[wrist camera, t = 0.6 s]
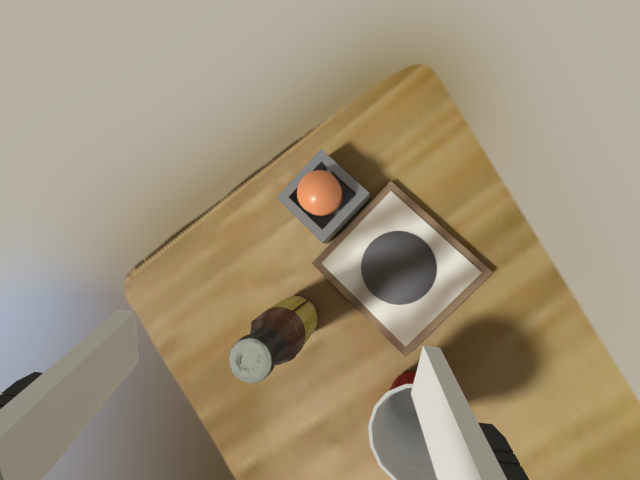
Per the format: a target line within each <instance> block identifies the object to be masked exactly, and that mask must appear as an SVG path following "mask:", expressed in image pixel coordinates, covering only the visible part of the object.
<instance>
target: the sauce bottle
mask: <svg viewBox="0 0 640 480" xmlns="http://www.w3.org/2000/svg"><path fill="white" fill-rule="evenodd" d="M317 317H318V313H317V310H316V308H315V306H314V305H313V303H312V302H311V301H310V300H309V299H307V298H305V297H302V296H291V297H288V298H286V299H284V300H282V301H281V302H279V303H278V304H276V305H274V306H273V307H271V308H269V309H267V310H266V311H264V312H263V313H262V314H261V315H259V316H258V317H257V318H256V319H255V320H253V321H252V322H251V332H250V335H247V336H244V337H242V338H241V339H240V340H239V341H238V342H237V343H235V345H234V346H233V347H232V350H231V352H230V356H229V359H230V366H231V369H232V371H233V373H234V374H235V376H236V377H237V378H238V379H240V380H241V381H243V382H247V383H257V382H259V381H262V380H263V379H265V378H266V377H267V376H268V375H269V374H270V373H271V371H272V370H273V368H274V366H275V365H279V364H283V363H286V362H288V361H290V360H292V359H294V358H295V356H296V355H297V354H298V353H299V351H300V350H301V349H302V347H303V346H304V344H305V343H306V342H307V340H308V339H309V337H310V336H311V334H312V333H313V331H314V330H315V328H316V326H317Z"/></svg>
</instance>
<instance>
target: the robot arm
mask: <svg viewBox="0 0 640 480" xmlns="http://www.w3.org/2000/svg"><path fill="white" fill-rule="evenodd" d="M138 362H139V356H138V341H137V325H136V311H129V310H120V309H119V310H117V311H116V312H115V313H114V314H113V315H111V316H110V317H109V318H108V319H107V320H105V321H104V322H103V323H102V324H101V325H100V326H98V327H97V328H96V329H95V330H94V331H93V332H91V333H90V334H89V335H88V336H87V337H85V338H84V339H83V340H82V341H81V342H79V343H78V344H77V345H76V346H75V347H74V348H72V349H71V350H70V351H69V352H68V353H67V354H65V355H64V356H63V357H62V358H61V359H59V360H58V361H57V362H56V363H55V364H53V365H52V366H51V367H50V368H49V369H48V370H46V371H45V372H44V373H39V372H34V373H32V374H30V375H28V376H26V377H24V378H22V379H21V380H18V381H16V382H15V383H14V384H12V385H11V386H10V387H9V388H7V389H6V390H5V391H4V392H2V394H1V395H0V480H42V478H43V477H44V476H45V475H46V474H47V472H48V471H49V470H50V469H51V468H52V466H53V465H54V464H55V463H56V461H57V460H58V459H59V458H60V457H61V455H62V454H63V453H64V452H65V451H66V449H67V448H68V447H69V446H70V445H71V443H72V442H73V441H74V440H75V439H76V437H77V436H78V435H79V434H80V432H81V431H82V430H83V429H84V427H85V426H86V425H87V424H88V423H89V422H90V420H91V419H92V418H93V417H94V416H95V414H96V413H97V412H98V411H99V409H100V408H101V407H102V406H103V405H104V403H105V402H106V401H107V400H108V399H109V397H110V396H111V395H112V394H113V392H114V391H115V390H116V389H117V388H118V386H119V385H120V384H121V383H122V382H123V380H124V379H125V378H126V377H127V376H128V374H129V373H130V372H131V371H132V369H133V368H134V367H135V366H136V365H137V363H138ZM411 396H412V399H413V402H414V405H415V409H416V412H417V415H418V418H419V422H420V425H421V428H422V431H423V435H424V438H425V441H426V444H427V448H428V451H429V454H430V457H431V460H432V464H433V467H434V470H435V473H436V477H437V480H529V479H528V477H527V475H526V473H525V472H524V470H523V468H522V467H521V466H520V463H519V461H518V459H517V458H516V456H515V454H513V451H512V449H511V447H510V445H509V444H508V442H507V440H506V438H505V437H504V436H503V435H502V434H501V433H500V432H499V431H498V430H497V429H496V428H495V427H494V426H493V425H492V424H485V423H478V421H477V420H476V418H475V416H474V414H473V412H472V410H471V408H470V406H469V404H468V402H467V400H466V398H465V396H464V394H463V392H462V390H461V388H460V386H459V384H458V382H457V380H456V378H455V376H454V374H453V372H452V370H451V368H450V366H449V365H448V363H447V361H446V359H445V357H444V355H443V353H442V351H441V349H440V347H432V346H423V348H422V352H421V356H420V360H419V364H418V368H417V372H416V376H415V379H414V383H413V387H412V391H411Z"/></svg>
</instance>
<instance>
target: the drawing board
mask: <svg viewBox="0 0 640 480" xmlns="http://www.w3.org/2000/svg"><path fill="white" fill-rule="evenodd" d="M312 264H313V265H314V266H315V267H316V268H317V269H318V270H319V271H320V272H321V273H322V274H323V275H324V276H325V277H326V278H327V279H328V280H329V281H330V282H331V283H332V284H333V285H334V286H335V287H336V288H337V289H338V290H339V291H340V292H341V293H342V294H343V295H344V296H345V297H346V298H347V299H348V300H349V301H350V302H351V303H352V304H353V305H354V306H355V307H356V308H357V309H358V310H359V311H360V312H361V313H362V314H363V315H364V316H365V317H366V318H367V319H368V320H369V321H370V322H371V323H372V324H373V325H374V326H375V327H376V328H377V329H378V330H379V331H380V332H381V333H382V334H383V335H384V336H385V337H386V338H387V339H388V340H389V341H390V342H391V343H392V344H393V345H394V346H395V347H396V348H397V349H398V350H399V351H400V352H401V353H402V354H403V355H404V356H405V357H406V356H407V355H408V354H409V353H410V352H412V351H413V350H414V349H415V348H416V347H417V346H418V345H419V344H420V343H421V342H422V341H423V340H424V339H425V338H426V337H427V336H428V335H429V334H430V333H431V332H432V331H433V330H434V329H435V328H436V327H437V326H438V325H439V324H440V323H441V322H442V321H443V320H445V319H446V318H447V317H448V316H449V315H450V314H451V313H452V312H453V311H454V310H455V309H456V308H457V307H458V306H459V305H460V304H461V303H462V302H463V301H464V300H465V299H466V298H467V297H468V296H469V295H470V294H471V293H472V292H473V291H474V290H475V289H476V288H478V287H479V286H480V285H481V284H482V283H483V282H484V281H485V280H486V279H487V278H488V277H489V276H490V275H491V274H492V273H493V272H492V271H491V270H490V269H489V268H488V267H486V266H485V265H484V264H483V263H482V262H481V261H480V260H479V259H477V258H476V257H475V256H474V255H473V254H472V253H471V252H470V251H468V250H467V249H466V248H465V247H464V246H463V245H462V244H461V243H460V242H458V241H457V240H456V239H455V238H454V237H453V236H452V235H451V234H449V233H448V232H447V231H446V230H445V229H444V228H443V227H442V226H441V225H439V224H438V223H437V222H436V221H435V220H434V219H433V218H432V217H430V216H429V215H428V214H427V213H426V212H425V211H424V210H423V209H421V208H420V207H419V206H418V205H417V204H416V203H415V202H414V201H413V200H411V199H410V198H409V197H408V196H407V195H406V194H405V193H404V192H402V191H401V190H400V189H399V188H398V187H397V186H396V185H395V184H394V183H392V182H391V181H390V182H389V183H388V184H387V185H386V186H385V187H384V188H383V189H382V190H381V191H380V193H379V194H378V195H377V196H376V197H375V198H374V199H373V200H372V201H371V202H370V203H369V204H368V205H367V206H366V207H365V208H364V209H363V210H362V211H361V212H360V213H359V215H358V216H357V217H356V218H355V219H354V220H353V221H352V222H351V223H350V224H349V225H348V226H347V227H346V228H345V229H344V230H343V231H342V232H341V233H340V234H339V236H338V237H337V238H336V239H335V240H334V241H333V242H332V243H331V244H330V245H329V246H328V247H327V248H326V249H325V250H324V251H323V252H322V253H321V254H320V255H319V256H318V258H317V259H316V260H315V261H314V262H313V263H312Z"/></svg>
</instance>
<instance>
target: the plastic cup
mask: <svg viewBox="0 0 640 480" xmlns="http://www.w3.org/2000/svg"><path fill="white" fill-rule="evenodd" d="M415 376H416V372H406V373H404V374H402V375H400V376H398V378H397V379H396V380H395V381H394V382H393V384H392V387H391V388H390V390H389V391H388V392H386V394H385V395H384V396H383V397H382V398H381V399H380V400H379V401H378V403H377V404H376V405H375V406H374V409H373V412H372V415H371V418H370V421H369V425H368V427H369V439H370V447H371V449H372V451H373V453H374V455H375V458H376V460H377V462H378V464H379V466H380V467H381V468H382V469H383V470H384V471H385V472H386V473H387V474H388V475H389V476H390V477H391V478H392V480H437V477H436V473H435V470H434V467H433V464H432V460H431V457H430V454H429V451H428V448H427V444H426V441H425V438H424V435H423V431H422V428H421V425H420V422H419V418H418V415H417V412H416V409H415V405H414V402H413V399H412V396H411V391H412V387H413V383H414V379H415Z"/></svg>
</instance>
